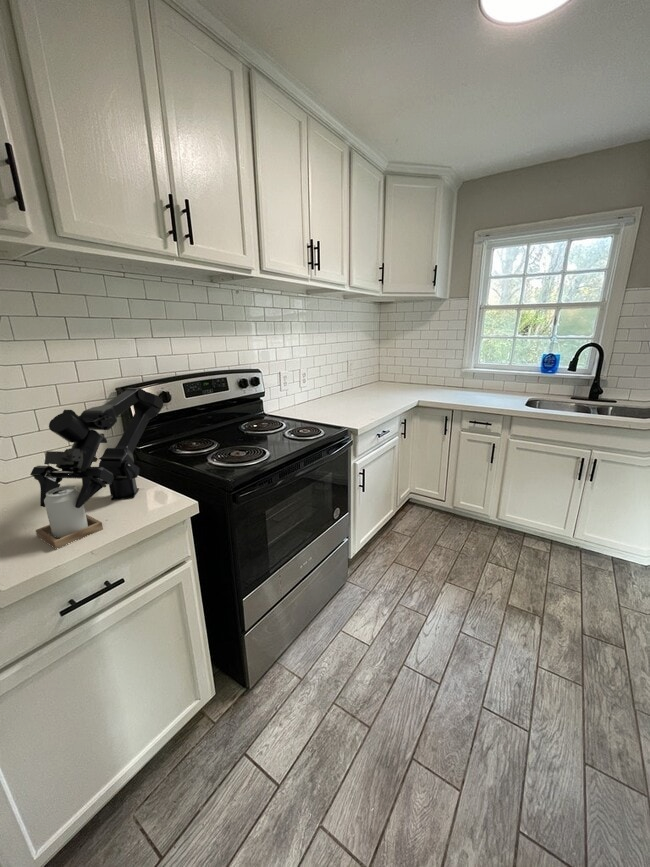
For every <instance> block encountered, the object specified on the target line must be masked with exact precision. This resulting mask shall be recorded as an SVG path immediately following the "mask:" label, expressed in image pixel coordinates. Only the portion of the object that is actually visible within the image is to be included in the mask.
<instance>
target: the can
mask: <svg viewBox="0 0 650 867" xmlns="http://www.w3.org/2000/svg"><path fill="white" fill-rule="evenodd" d="M77 488H78V487H77V486H75V485H63V486H60V487H58V488H55V489H52V490H50V491H48V492H47V493H46V498H45V499H44V504H45V507H44V508H45V511H46V514H47V519H48V523H49V525H50V527H51V531H52V533H51V534H52V535H51V536H52V537H54V538H55V539H59V538H62V537H64V536H67V535H69V534H72V533H74V532H76V531H79V530H81V529H83V528H86V527H88V526H89V524H88V523H87V518H86V515H87V514H86V511H85V506H84V504H83V505H82V506H81V507H80V508H76V507H75V505H76V501H77V499H78V496H79V493H80V491H81V490H79V489H77Z"/></svg>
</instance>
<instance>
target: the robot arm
mask: <svg viewBox="0 0 650 867" xmlns="http://www.w3.org/2000/svg"><path fill="white" fill-rule="evenodd" d="M132 407H133V410H134V414H133V416H132V417H131V419H130V421H129V423H128V424H127V426H126V429H125V430H124V432H123V434H122V436H121V437H120V438H119V441H118V442H117V444H116V446H115V447H106V448H105V450H104V452H103V455H101V457H100V458H99V460H100V461H99V463H98V466H92V464H93V463H97V461H98V457H96V455H97V452H98V449H99V447H100V444H107V443H108V440H107V438H106V436H105V433H99V432H98V431H109V430H111V429H112V427H114V426H115V424H116V423H117V422H118V417H119V416H120V415H121V414H123V413H125V412H126V411H127V410H128V409H130V408H132ZM163 407H164V401H163V399H162V398H161V397H160V395H156V394H154V393H152V392H148V391H145V390H144V389H142V388H139V387H128V388H125V390H124V391H122V393H120V394H118V395H117V396H115V397H114V398H112V399H111V400H109V401H107V402H106V403H105V404H102V405H98V406H93V407H89V408H88V409H85V410H83V411H82V412H81V413H80V414H79V415H78V414H77V413H76V412H75V411H74V410H73V409H64V410H63V411H62V413H59V414H57V415H56V416H55V417H53V418H52V419H51V420H50V421H49V423H48V428H49V431H51V432H52V433H54V434H56V435H57V436H59V437H60V438H62V439H64V441H67V442H68V443H72V445H71V448H65V450H64V451H54V450H53V451H51V450H47V451H45V456H44V457H45V458H44V465H36V466H34V467H33V469H32V471H31V472H30V476H32V477H33V479H34V480H36V481H38V483H39V487H40V498H39V499H40V500H39V503H40V504H39V505H40V507H41V508H45V504H44V499H45V498H46V493H47V492H48V491H50V490H52V489H55V488H58V487H61V484H60V483H61V482H62V481H63V479H80V480H81V481H82V486H81V489H80V490H79V491H80V493H79V496H78V499H77V501H76V505H75V507H76V508H80V507H81V506H82V505H84V504H85V503H86V502H89V500H90V499H91V498H92V497H94V495H95V494H96V493H98V492H99V491H100V490H102V489H103V488H106V487H107V485H108V487H109V492H110V496H111V498H110V500H111V501H114V500H115V501H116V500H124V499H133V498H135V496H137V494H138V492H139V491H140V488H139V487H138V486H137V481H136V478H138V476H139V475H140V469H141V468H140V467H139V466H138V465H136V464H135V460H134V454H133V453H134V451H135V449H136V447H137V445H138V444H139V441H140V439H141V437H142V436H143V434H144V432H145V430H146V428H147V426H148V424H149V422H150V421H151V419H153V418H154V417H157V416H158V415H159V414H160V413H161V411H162V409H163ZM52 465H56V466H55V467H56V468H55V467H53V466H52ZM57 468H58V469H61V470H58V469H57Z"/></svg>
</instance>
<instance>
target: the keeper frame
mask: <svg viewBox="0 0 650 867" xmlns="http://www.w3.org/2000/svg"><path fill="white" fill-rule="evenodd" d="M86 518H87V523H88V527H86V528H83V529H81V530H79V531H76V532H74V533H72V534H69V535H67V536H64V537H62V538H60V539H59V538H56V537H54V536H53V535H51V534H52V531H51V527H50V524H48V525H44V526H42V527H40V528H37V529H35V534H36V536H37V538H38V539H40V540H41V539H42V541H43V542H44V541H45V542H44V543H45V544H47V543H48V544H47V545H49V544H50V545H51V547H52V546H53V547H54V548H53V547H52V548H53V549H55V548H56V549H57V548H59V547H61V548H63V547H62V546H64V545H66V544H68V543H70V544H72V543H71V542H73V541H75V540H77V541H79V540H81V538H82V539H84V538H86V537H88V536H87V535H89V536H90V534H91V535H93V534H95V533H98V532H99V530H100V531H102V530H104V527H103V526H104V525H103V522H102V521H100V520H99V519H96V518H94V517H92V516H90V515H88V514H86ZM97 531H98V532H97ZM85 536H86V537H85ZM83 537H84V538H83ZM78 539H79V540H78ZM75 542H76V541H75ZM73 543H74V542H73ZM50 545H49V546H50ZM68 545H69V544H68ZM66 546H67V545H66ZM64 547H65V546H64ZM56 549H55V550H56ZM59 549H60V548H59ZM57 550H58V549H57Z"/></svg>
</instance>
